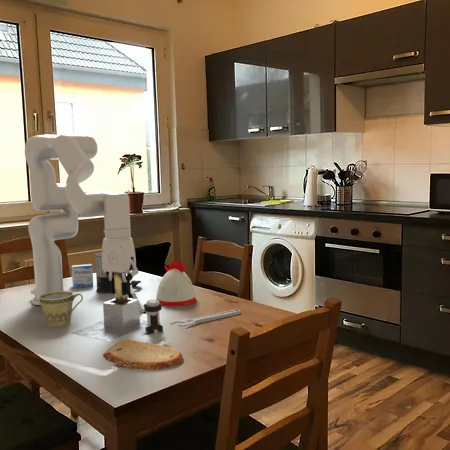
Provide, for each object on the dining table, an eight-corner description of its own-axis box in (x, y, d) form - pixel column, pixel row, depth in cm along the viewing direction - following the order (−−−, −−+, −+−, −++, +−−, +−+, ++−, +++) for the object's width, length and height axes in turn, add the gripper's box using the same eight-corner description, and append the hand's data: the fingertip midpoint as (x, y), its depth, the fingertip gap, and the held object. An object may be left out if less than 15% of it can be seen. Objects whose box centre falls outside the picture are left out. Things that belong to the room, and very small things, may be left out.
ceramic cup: (45, 334, 153) (43, 301, 152) (38, 325, 162) (35, 294, 160) (89, 325, 160) (87, 294, 159) (79, 317, 169) (77, 287, 167)
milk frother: (91, 291, 202) (88, 254, 200) (120, 283, 215) (119, 247, 213) (116, 296, 194) (114, 257, 192) (146, 287, 206) (144, 250, 204)
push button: (145, 340, 147) (143, 305, 145) (137, 335, 151) (136, 301, 150) (166, 335, 150) (165, 301, 149) (158, 330, 155) (157, 297, 153)
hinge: (148, 314, 170) (137, 287, 168) (135, 321, 169) (123, 294, 167) (138, 301, 186) (127, 277, 184) (126, 307, 185) (115, 282, 182)
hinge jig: (71, 336, 151) (69, 309, 150) (116, 318, 167) (114, 294, 166) (110, 344, 143) (108, 316, 142) (152, 324, 160) (151, 299, 159)
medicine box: (73, 288, 207) (72, 267, 206) (72, 285, 211) (71, 265, 210) (93, 286, 210) (92, 265, 209) (92, 283, 214) (91, 263, 213)
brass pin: (113, 305, 157) (111, 273, 156) (121, 302, 160) (119, 271, 159) (122, 307, 155) (120, 274, 154) (130, 304, 158) (128, 272, 157)
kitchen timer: (186, 307, 178) (184, 264, 176) (150, 304, 182) (148, 262, 180) (201, 297, 191) (199, 257, 189) (166, 294, 195) (165, 255, 193)
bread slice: (189, 364, 130) (188, 349, 129) (119, 380, 121) (118, 365, 121) (161, 342, 145) (160, 329, 145) (97, 355, 137) (97, 342, 136)
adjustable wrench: (237, 313, 172) (237, 307, 172) (248, 318, 166) (247, 312, 166) (168, 326, 160) (168, 320, 159) (177, 332, 154) (177, 326, 154)
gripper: (88, 234, 156) (92, 293, 158) (131, 236, 148) (134, 299, 150) (105, 230, 162) (109, 288, 165) (147, 233, 154) (150, 293, 156)
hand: (121, 292), depth 157 cm, fingers closed on brass pin, 3 cm apart
